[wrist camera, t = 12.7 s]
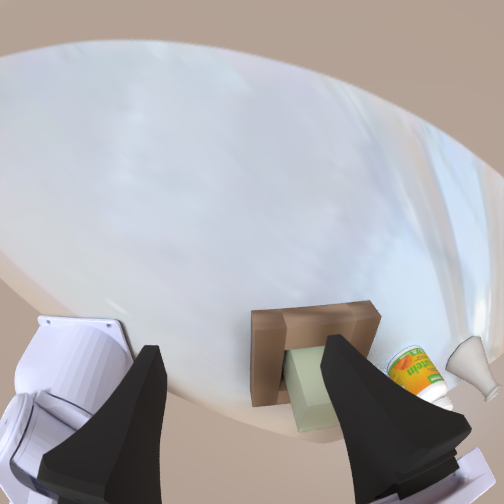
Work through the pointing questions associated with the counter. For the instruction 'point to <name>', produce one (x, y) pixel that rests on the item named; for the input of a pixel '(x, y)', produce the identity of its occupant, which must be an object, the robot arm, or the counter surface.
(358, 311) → the socket
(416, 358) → the supplement bottle
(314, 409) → the peg
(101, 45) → the counter surface
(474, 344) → the flask
